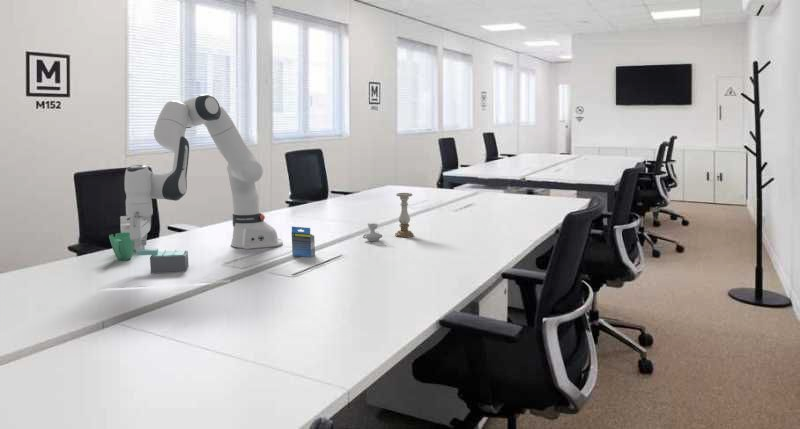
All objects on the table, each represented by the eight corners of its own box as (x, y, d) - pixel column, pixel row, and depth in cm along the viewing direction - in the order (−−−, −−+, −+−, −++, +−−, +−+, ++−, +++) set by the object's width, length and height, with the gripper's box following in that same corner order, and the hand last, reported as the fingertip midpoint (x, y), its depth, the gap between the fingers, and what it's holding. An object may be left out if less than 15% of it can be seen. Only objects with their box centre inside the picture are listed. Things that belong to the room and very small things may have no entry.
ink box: (123, 252, 263) (121, 217, 261) (121, 250, 267) (119, 216, 265) (145, 249, 268) (142, 216, 265) (142, 247, 272) (140, 214, 269)
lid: (185, 252, 234) (185, 246, 234) (183, 257, 227) (182, 250, 227) (139, 255, 231) (139, 248, 230) (135, 259, 224) (135, 252, 223)
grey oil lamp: (381, 239, 290) (381, 221, 289) (383, 242, 283) (383, 224, 282) (362, 240, 288) (361, 222, 287) (363, 242, 282) (363, 224, 281)
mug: (115, 256, 255) (113, 232, 253) (140, 256, 256) (138, 232, 255) (104, 265, 240) (102, 239, 239) (130, 264, 242) (129, 239, 240)
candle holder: (393, 237, 295) (393, 194, 291) (396, 233, 303) (396, 192, 300) (412, 237, 293) (412, 195, 290) (414, 234, 302) (414, 192, 299)
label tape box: (315, 255, 257) (314, 226, 255) (310, 257, 253) (310, 227, 251) (296, 253, 260) (295, 224, 258) (291, 255, 256) (290, 226, 254)
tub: (188, 267, 236) (187, 250, 235) (185, 273, 228) (184, 255, 226) (155, 269, 234) (154, 252, 233) (151, 275, 225) (149, 257, 224)
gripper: (143, 214, 216) (145, 253, 218) (153, 206, 235) (155, 242, 237) (123, 214, 214) (126, 254, 216) (135, 206, 234) (137, 242, 236)
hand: (141, 247), depth 227 cm, fingers open, 8 cm apart
